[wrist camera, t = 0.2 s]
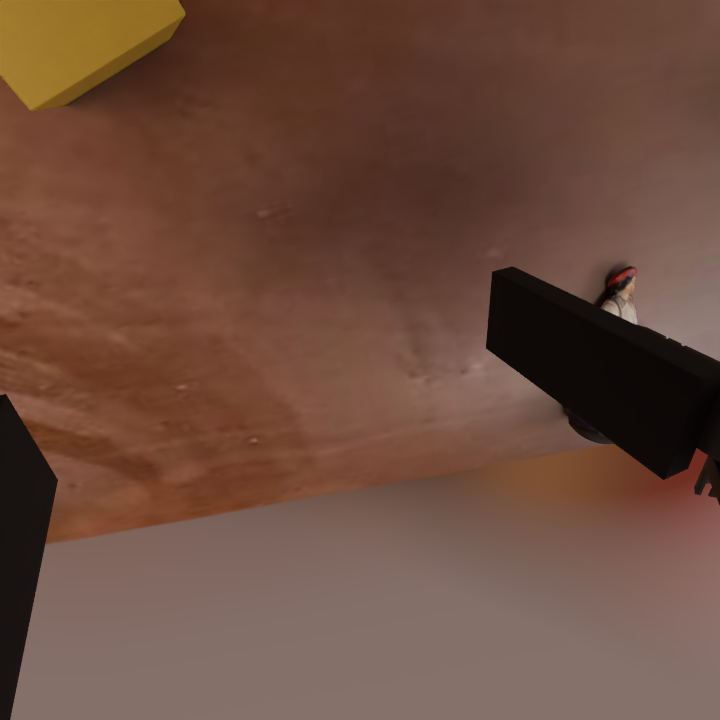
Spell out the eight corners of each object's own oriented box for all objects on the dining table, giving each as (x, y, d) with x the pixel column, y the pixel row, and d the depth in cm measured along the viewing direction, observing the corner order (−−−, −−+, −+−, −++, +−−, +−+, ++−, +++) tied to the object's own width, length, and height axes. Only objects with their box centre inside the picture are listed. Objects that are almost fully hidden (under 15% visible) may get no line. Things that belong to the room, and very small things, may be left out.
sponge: (-13, 12, 20) (-96, -36, 12) (107, -60, 20) (93, -147, 13) (64, 106, 22) (30, 112, 15) (169, 40, 22) (186, 14, 15)
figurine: (609, 466, 44) (666, 276, 37) (545, 435, 48) (585, 262, 42) (643, 443, 48) (699, 270, 42) (581, 417, 53) (622, 258, 46)
